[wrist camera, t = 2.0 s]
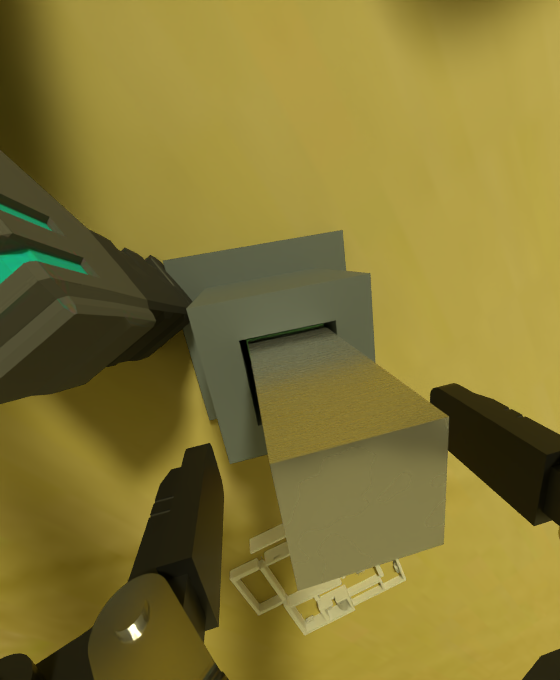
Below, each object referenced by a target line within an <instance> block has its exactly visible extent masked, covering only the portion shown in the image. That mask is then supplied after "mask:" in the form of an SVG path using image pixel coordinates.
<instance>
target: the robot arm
mask: <svg viewBox="0 0 560 680" xmlns="http://www.w3.org/2000/svg"><path fill="white" fill-rule="evenodd" d="M430 403H431V404H432V405H434V406H435V407H437V408H438V409H439V410H441V411H442V412H443V413H445V414H446V415H448V416H449V433H448V451H449V452H451V453H452V454H453V455H454V456H455V457H456V458H457V459H458V460H460V461H461V462H462V463H463V464H464V465H465V466H466V467H468V468H469V469H470V470H471V471H472V472H473V473H474V474H475V475H477V476H478V477H479V478H480V479H481V480H482V481H483V482H485V483H486V484H487V485H488V486H489V487H490V488H491V489H493V490H494V491H495V492H496V493H497V494H498V495H499V496H500V497H502V498H503V499H504V500H505V501H506V502H507V503H508V504H510V505H511V506H512V507H513V508H514V509H515V510H516V511H517V512H519V513H520V514H521V515H522V516H523V517H524V518H525V519H527V520H528V521H529V522H530V523H531V524H532V525H533V526H536V525H539V524H542V523H545V522H548V521H551V520H553V521H554V522H555V523H556V524H558V525H559V530H558V535H559V538H560V435H559V434H558V433H556V432H554V431H552V430H550V429H548V428H546V427H544V426H543V425H541V424H539V423H537V422H535V421H533V420H531V419H529V418H527V417H523V416H522V414H520V413H518V412H516V411H514V410H512V409H511V410H510V409H509V407H507V406H505V405H503V404H501V403H499V402H497V401H496V400H494V399H491V398H488V397H485V396H482V395H478V394H475V393H473V392H471V391H469V390H468V389H466V388H464V387H462V386H460V385H458V384H455V383H452V384H448V385H444V386H440V387H436V388H433V389H432V390H431V393H430ZM223 510H224V491H223V484H222V479H221V476H220V472H219V469H218V466H217V462H216V459H215V456H214V452H213V449H212V446H211V444H210V443H208V444H204V445H200V446H196V447H192V448H188V449H186V451H185V454H184V458H183V462H182V466H181V467H179V468H175V469H171V471H170V472H169V473H168V475H167V476H166V477H165V479H164V480H163V481H162V483H161V484H160V486H159V489H158V492H157V495H156V498H155V504H154V505H153V508H152V511H151V514H150V515H151V517H150V518H149V520H148V523H147V526H146V529H145V532H144V535H143V538H142V541H141V544H140V547H139V550H138V553H137V556H136V559H135V562H134V565H133V568H132V571H131V574H130V577H129V580H128V582H127V583H126V584H125V585H124V586H123V587H121V588H120V589H119V590H118V591H117V592H116V593H115V594H114V595H113V596H112V597H111V598H110V600H109V601H108V602H107V603H106V605H105V606H104V608H103V609H102V611H101V612H100V614H99V616H98V617H97V619H96V621H95V623H94V626H93V627H92V628H91V629H89V630H88V631H86V632H85V633H84V634H82V635H81V636H79V637H78V638H76V639H75V640H73V641H71V642H70V643H68V644H67V645H65V646H64V647H62V648H61V649H59V650H58V651H56V652H55V653H53V654H51V655H50V656H48V657H47V658H45V659H44V660H42V661H41V662H39V663H38V664H36V665H35V664H34V663H33V662H32V660H31V659H30V658H29V657H28V656H27V655H25V654H12V655H9V656H6V657H4V658H2V659H0V680H229V679H228V678H227V676H226V675H225V674H224V672H221V671H220V669H219V668H218V666H217V665H216V663H215V662H214V660H213V658H212V657H211V655H210V653H209V651H208V650H207V648H206V646H205V645H204V635H205V631H207V630H210V629H213V628H216V627H219V608H220V583H221V559H222V534H223ZM522 680H560V649H558V650H555V651H553V652H550V653H547V654H545V655H542V656H541V657H540V658H539V659H538V660H537V662H536V663H535V664H534V665H533V667H532V668H531V669H530V670H529V672H528V673H527V674H526V675H525V677H524V678H523V679H522Z"/></svg>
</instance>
